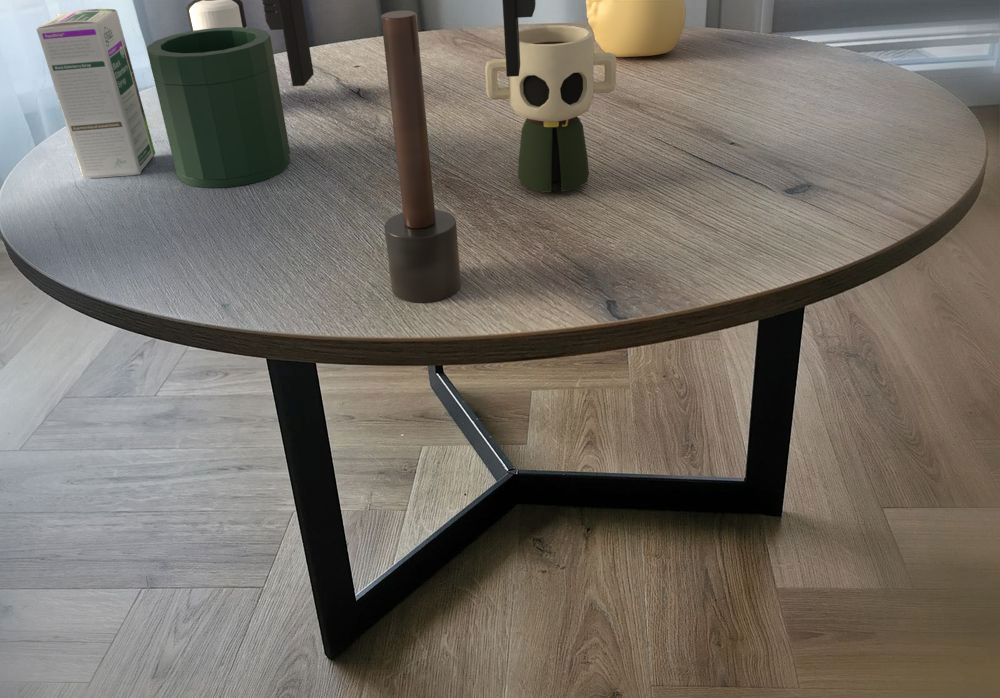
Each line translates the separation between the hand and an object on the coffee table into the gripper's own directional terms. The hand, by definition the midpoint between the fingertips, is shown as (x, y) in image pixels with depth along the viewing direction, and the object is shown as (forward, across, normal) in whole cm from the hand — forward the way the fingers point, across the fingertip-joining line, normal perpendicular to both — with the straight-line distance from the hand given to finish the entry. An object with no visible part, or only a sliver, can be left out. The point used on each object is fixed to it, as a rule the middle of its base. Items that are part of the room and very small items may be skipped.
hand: (407, 76), depth 61 cm
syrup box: (+15, +34, -27) cm, 46 cm away
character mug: (+15, -9, -19) cm, 26 cm away
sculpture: (+15, -19, -63) cm, 68 cm away
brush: (+15, 0, 0) cm, 15 cm away
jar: (+15, +22, -26) cm, 37 cm away
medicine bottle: (+15, +28, -46) cm, 56 cm away
